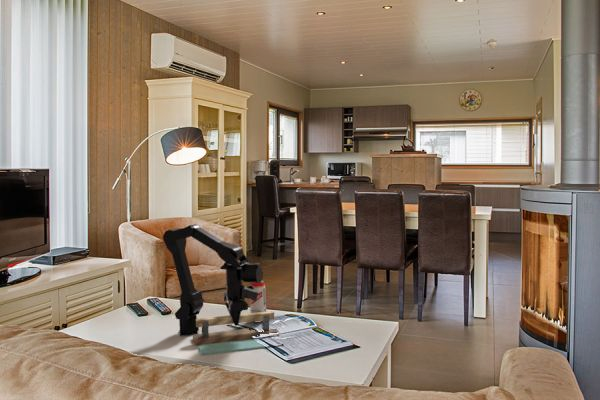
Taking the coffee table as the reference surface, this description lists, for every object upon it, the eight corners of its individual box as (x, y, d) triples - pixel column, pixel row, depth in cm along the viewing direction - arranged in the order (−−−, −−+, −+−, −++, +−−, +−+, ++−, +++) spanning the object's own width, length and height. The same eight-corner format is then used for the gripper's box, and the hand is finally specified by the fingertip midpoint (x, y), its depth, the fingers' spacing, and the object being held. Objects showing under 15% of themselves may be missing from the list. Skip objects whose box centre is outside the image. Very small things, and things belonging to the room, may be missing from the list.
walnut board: (195, 345, 184) (194, 341, 184) (193, 338, 192) (192, 334, 191) (279, 335, 192) (279, 331, 192) (274, 329, 200) (273, 325, 200)
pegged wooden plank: (203, 339, 186) (202, 322, 186) (201, 335, 191) (201, 318, 190) (270, 331, 193) (269, 315, 193) (267, 327, 197) (266, 311, 197)
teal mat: (201, 355, 174) (201, 353, 174) (198, 347, 182) (198, 345, 182) (284, 345, 181) (284, 343, 181) (277, 337, 190) (277, 336, 190)
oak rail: (196, 327, 187) (196, 320, 186) (196, 325, 189) (195, 318, 189) (274, 319, 194) (274, 312, 194) (272, 317, 197) (272, 311, 197)
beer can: (264, 323, 209) (262, 282, 208) (248, 322, 210) (247, 282, 209) (268, 318, 215) (266, 279, 214) (253, 318, 216) (251, 279, 215)
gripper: (261, 284, 184) (263, 329, 185) (251, 275, 202) (252, 315, 203) (229, 287, 181) (231, 332, 182) (222, 277, 199) (223, 318, 200)
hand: (235, 324), depth 192 cm, fingers closed on oak rail, 2 cm apart
